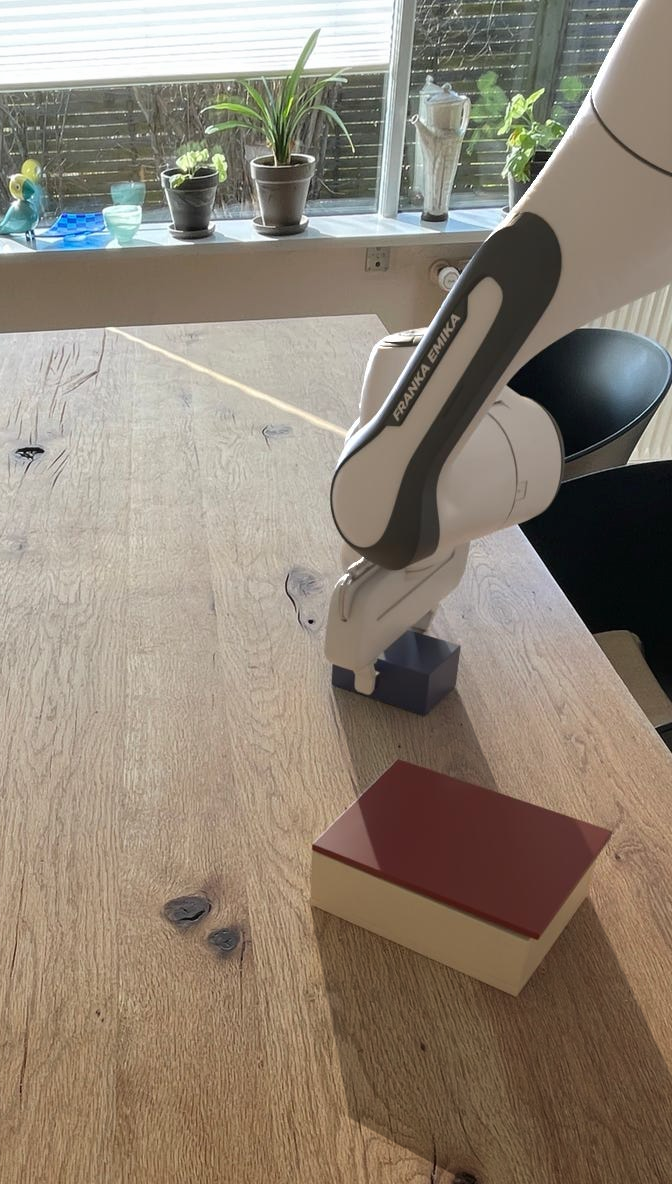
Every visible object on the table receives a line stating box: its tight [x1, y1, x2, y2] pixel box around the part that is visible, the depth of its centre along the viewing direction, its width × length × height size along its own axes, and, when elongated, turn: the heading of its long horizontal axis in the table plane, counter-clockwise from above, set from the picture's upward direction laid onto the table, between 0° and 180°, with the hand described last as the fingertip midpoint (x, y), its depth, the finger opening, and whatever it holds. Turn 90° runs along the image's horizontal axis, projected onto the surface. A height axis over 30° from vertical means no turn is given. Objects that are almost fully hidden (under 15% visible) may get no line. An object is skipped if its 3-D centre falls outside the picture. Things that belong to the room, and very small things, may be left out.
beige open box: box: [309, 850, 598, 998], centre depth 83 cm, size 17×13×5 cm
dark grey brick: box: [331, 630, 462, 717], centre depth 106 cm, size 10×6×4 cm, turn 53°
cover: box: [311, 758, 613, 940], centre depth 81 cm, size 17×13×1 cm
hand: (391, 666), depth 106 cm, fingers open, 8 cm apart
